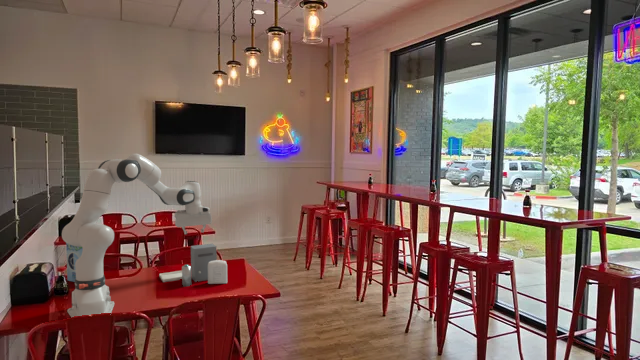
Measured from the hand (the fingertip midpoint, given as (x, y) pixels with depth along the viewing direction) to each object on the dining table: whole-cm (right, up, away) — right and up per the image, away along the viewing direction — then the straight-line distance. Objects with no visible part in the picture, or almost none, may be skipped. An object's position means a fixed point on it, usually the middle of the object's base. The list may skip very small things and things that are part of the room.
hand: (194, 233), depth 247 cm
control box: (+8, -24, -8) cm, 26 cm away
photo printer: (+17, -25, -16) cm, 34 cm away
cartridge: (+2, -25, -19) cm, 31 cm away
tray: (-9, -24, -6) cm, 26 cm away
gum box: (-56, -25, -13) cm, 63 cm away
